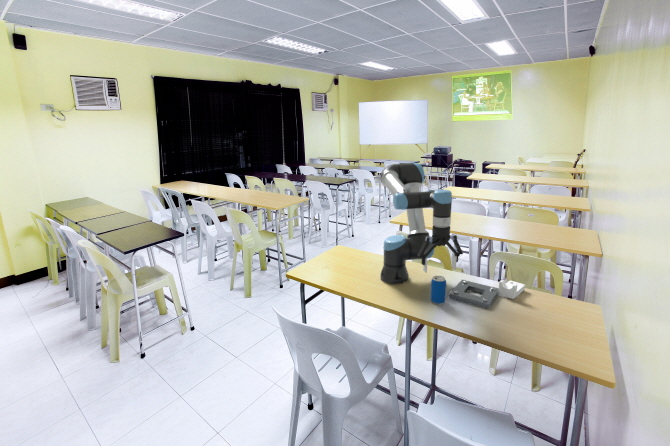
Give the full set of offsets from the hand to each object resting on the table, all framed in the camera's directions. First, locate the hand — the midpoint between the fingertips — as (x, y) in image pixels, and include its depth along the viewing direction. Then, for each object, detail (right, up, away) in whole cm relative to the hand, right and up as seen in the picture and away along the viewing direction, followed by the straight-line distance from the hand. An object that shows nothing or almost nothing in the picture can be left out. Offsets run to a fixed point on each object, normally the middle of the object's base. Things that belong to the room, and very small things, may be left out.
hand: (439, 270), depth 156 cm
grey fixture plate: (+19, -14, +9) cm, 25 cm away
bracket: (+38, -13, +10) cm, 41 cm away
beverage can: (+1, -16, +5) cm, 16 cm away
